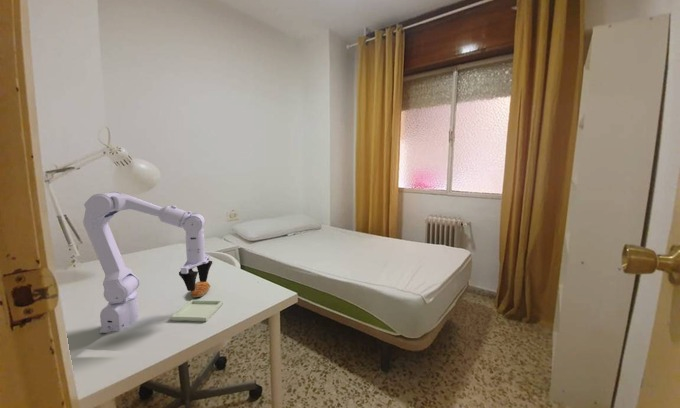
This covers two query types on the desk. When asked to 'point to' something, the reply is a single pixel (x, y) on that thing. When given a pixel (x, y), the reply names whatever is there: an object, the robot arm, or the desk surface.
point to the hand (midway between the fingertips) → (197, 285)
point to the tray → (197, 310)
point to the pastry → (200, 289)
